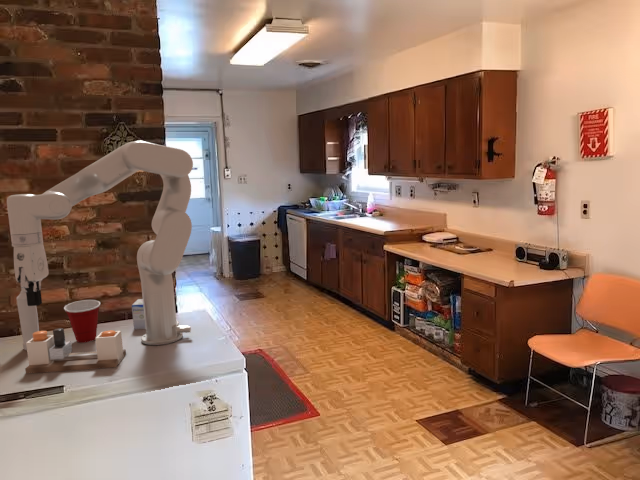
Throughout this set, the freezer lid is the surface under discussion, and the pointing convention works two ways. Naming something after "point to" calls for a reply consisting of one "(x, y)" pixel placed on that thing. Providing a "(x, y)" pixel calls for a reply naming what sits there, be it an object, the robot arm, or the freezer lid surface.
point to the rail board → (74, 363)
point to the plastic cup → (83, 319)
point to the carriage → (60, 345)
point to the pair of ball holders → (105, 347)
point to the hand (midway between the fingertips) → (34, 304)
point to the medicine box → (138, 315)
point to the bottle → (27, 318)
